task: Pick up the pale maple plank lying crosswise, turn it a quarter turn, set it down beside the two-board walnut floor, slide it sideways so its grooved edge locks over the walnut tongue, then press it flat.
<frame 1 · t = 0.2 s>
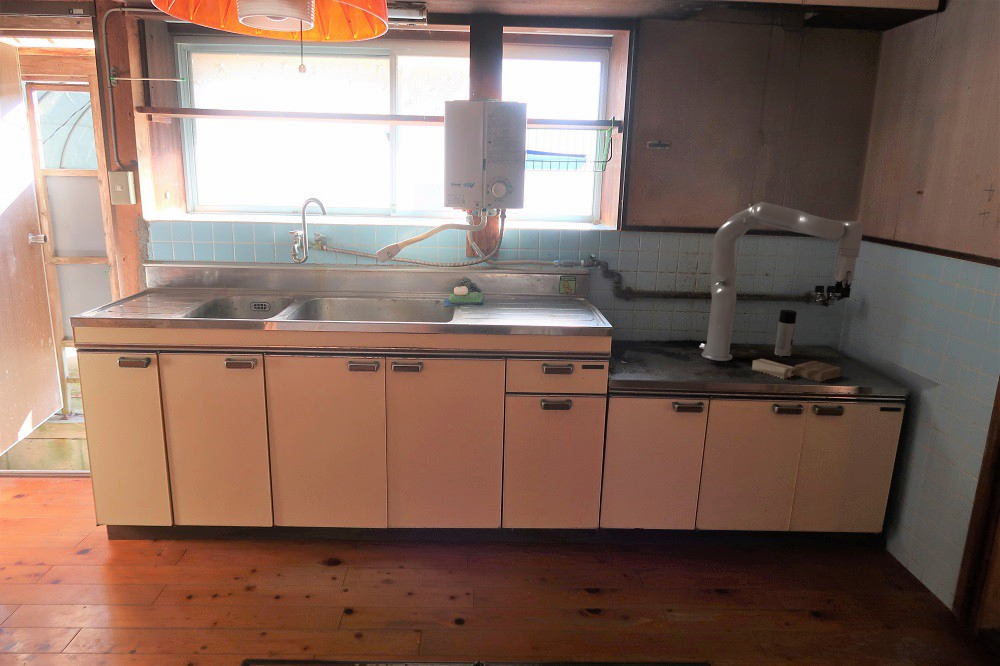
hand: (841, 295, 262), 31 cm above the counter, tool pointing down, fingers open, 9 cm apart
spray can: (782, 355, 288), on the counter
walnut floor: (816, 376, 258), on the counter
maple plank: (770, 373, 260), on the counter
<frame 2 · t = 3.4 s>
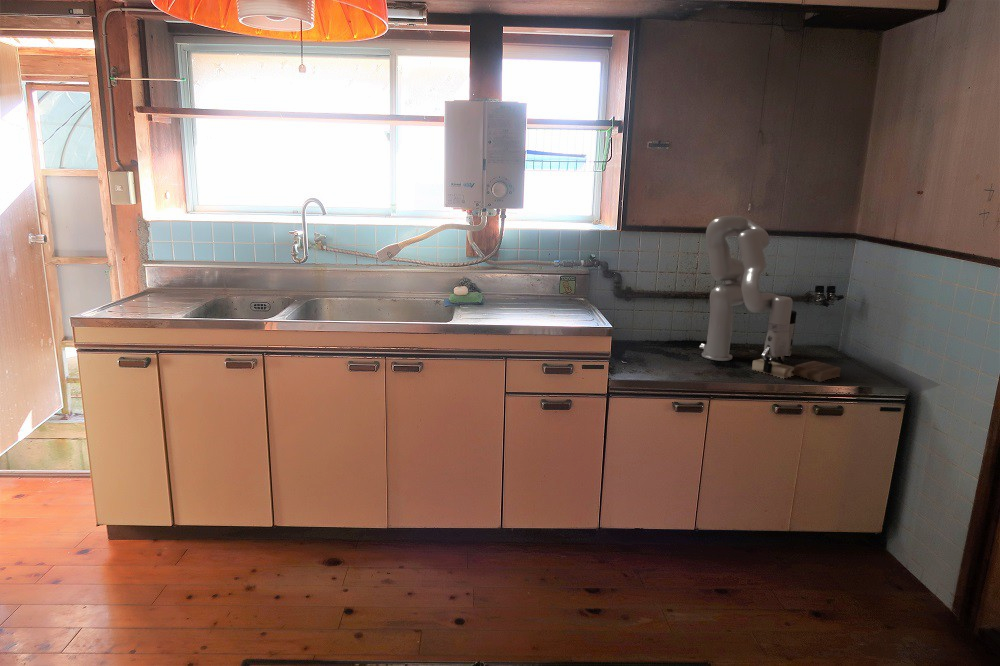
hand: (772, 370, 260), 1 cm above the counter, tool pointing down, fingers closed on maple plank, 6 cm apart
maple plank: (770, 373, 260), on the counter, touching gripper
everything else where it was.
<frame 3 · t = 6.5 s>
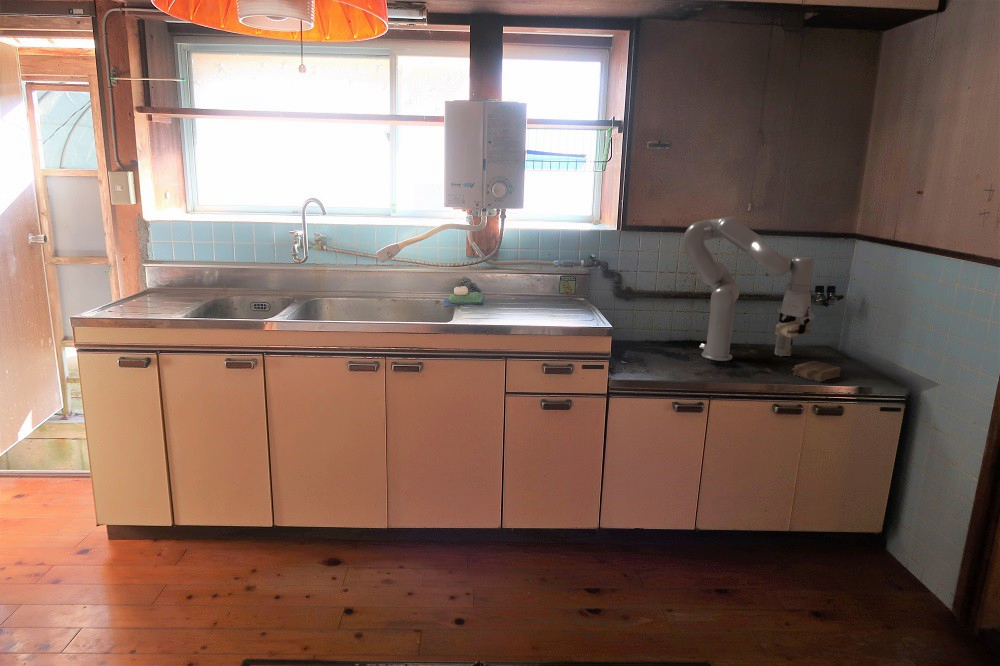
hand: (793, 331, 264), 16 cm above the counter, tool pointing down, fingers closed on maple plank, 6 cm apart
maple plank: (791, 333, 265), point 15 cm above the counter, touching gripper
everything else where it was.
when the fingers open (2 cm above the counter, at t = 9.7 s): maple plank drops 1 cm, on the counter.
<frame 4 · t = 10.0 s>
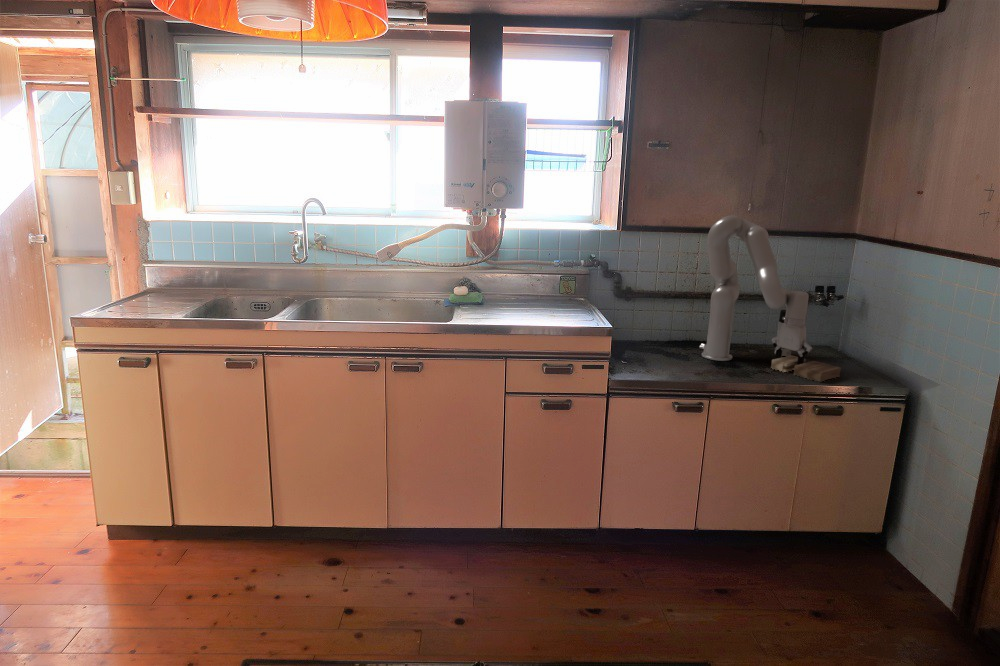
hand: (788, 362, 267), 2 cm above the counter, tool pointing down, fingers open, 9 cm apart
maple plank: (786, 368, 269), on the counter
everything else where it was.
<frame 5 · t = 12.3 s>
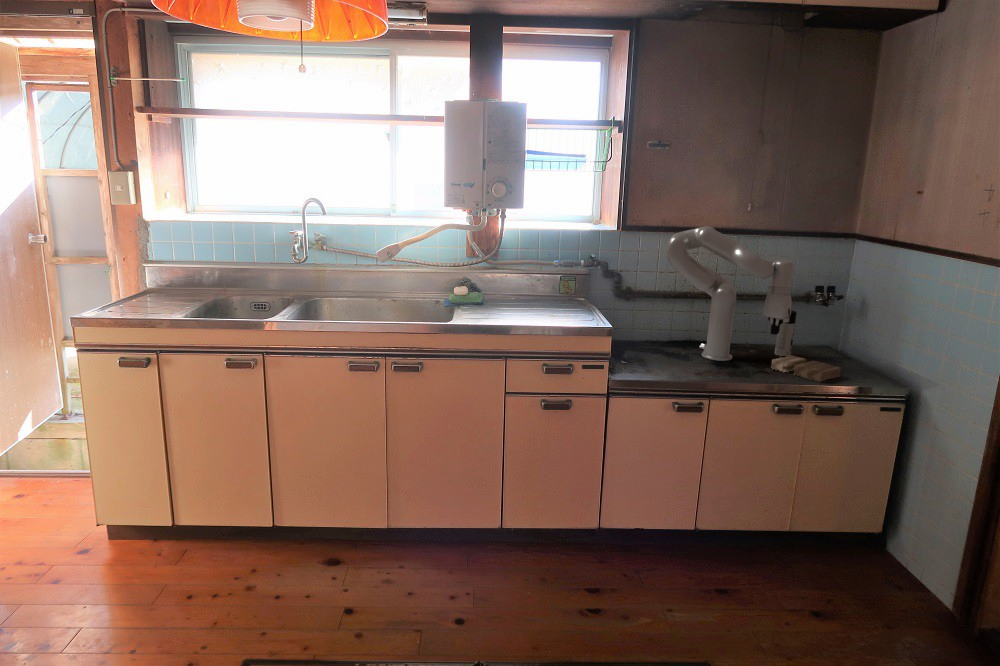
hand: (774, 333, 271), 13 cm above the counter, tool pointing down, fingers closed
nothing on the counter moved.
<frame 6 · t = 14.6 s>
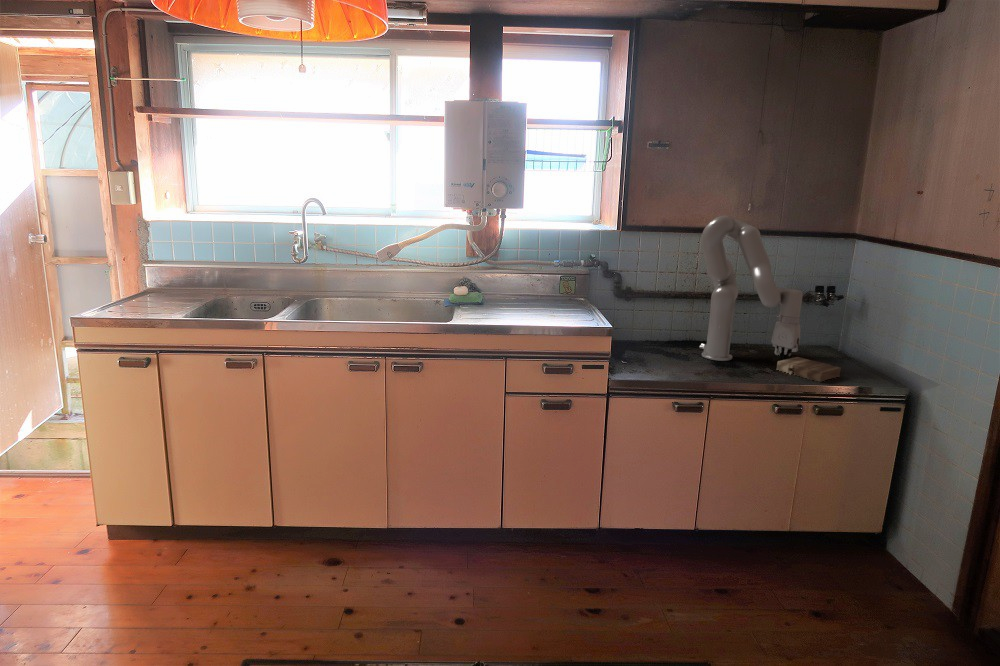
hand: (783, 362, 270), 2 cm above the counter, tool pointing down, fingers closed
maple plank: (792, 369, 266), on the counter, touching gripper
everything else where it was.
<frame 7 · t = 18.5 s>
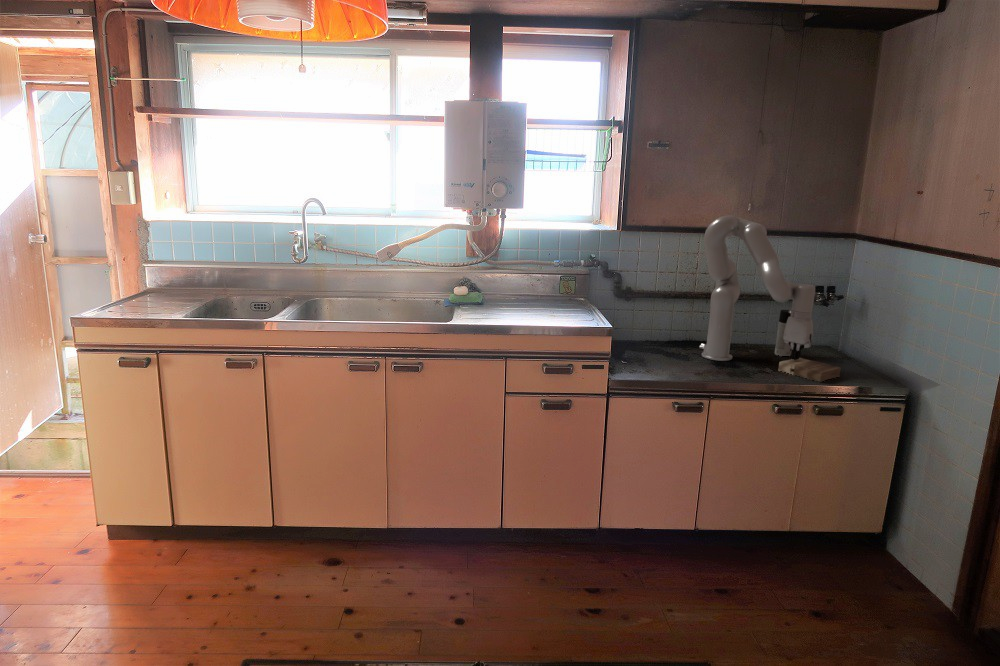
hand: (795, 359, 265), 5 cm above the counter, tool pointing down, fingers closed
maple plank: (793, 370, 266), on the counter
everything else where it was.
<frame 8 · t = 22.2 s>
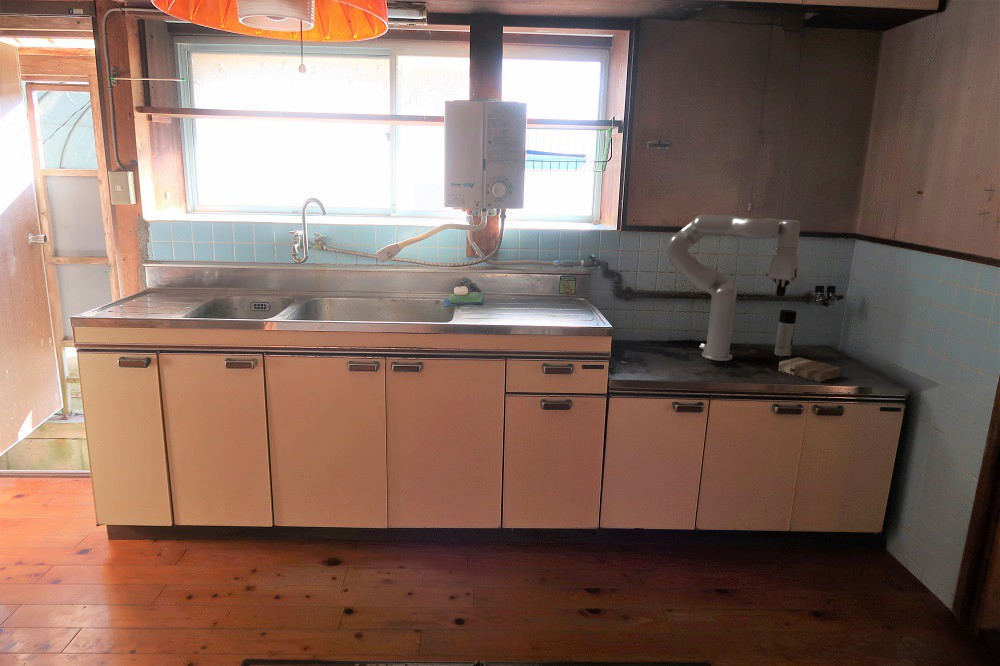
hand: (780, 295, 266), 29 cm above the counter, tool pointing down, fingers closed
nothing on the counter moved.
at the end: maple plank 0.2 cm from the target spot on the counter beside the walnut floor, on the counter; maple plank tilted 0°; the gripper is holding nothing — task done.
